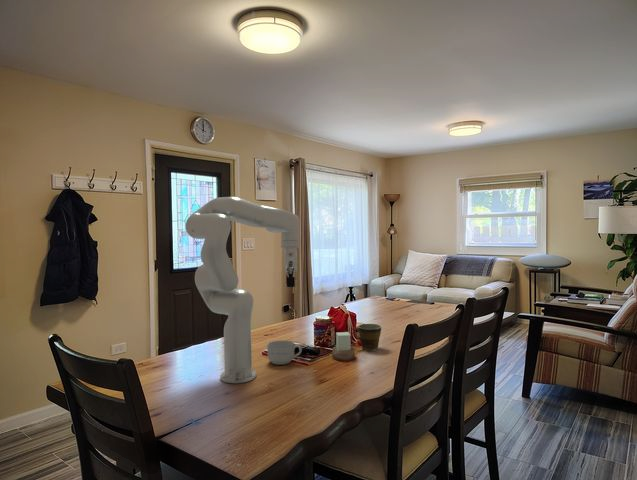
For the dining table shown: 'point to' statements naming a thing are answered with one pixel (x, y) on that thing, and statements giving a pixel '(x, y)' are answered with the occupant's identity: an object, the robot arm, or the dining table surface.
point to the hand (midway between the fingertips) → (290, 285)
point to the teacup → (282, 351)
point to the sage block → (343, 341)
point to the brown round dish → (343, 354)
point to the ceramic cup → (369, 336)
